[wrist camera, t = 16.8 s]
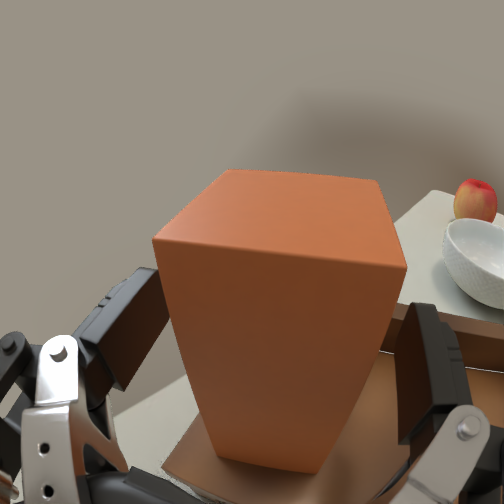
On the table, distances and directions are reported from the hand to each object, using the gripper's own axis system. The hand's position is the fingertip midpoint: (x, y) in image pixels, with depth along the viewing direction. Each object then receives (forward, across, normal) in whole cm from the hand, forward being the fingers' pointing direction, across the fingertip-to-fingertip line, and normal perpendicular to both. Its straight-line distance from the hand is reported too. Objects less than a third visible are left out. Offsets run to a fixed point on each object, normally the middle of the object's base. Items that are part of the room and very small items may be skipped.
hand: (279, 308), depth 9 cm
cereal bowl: (+26, -26, +17) cm, 40 cm away
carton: (0, 0, +8) cm, 8 cm away
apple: (+46, -32, +17) cm, 59 cm away
